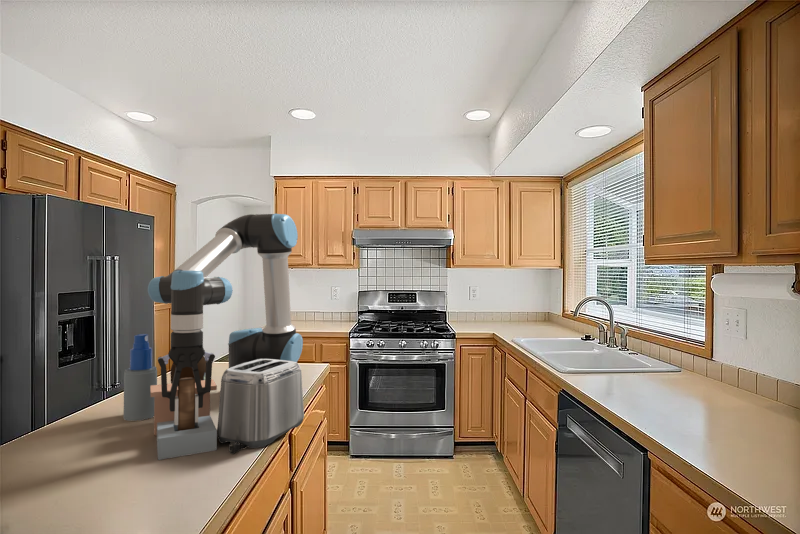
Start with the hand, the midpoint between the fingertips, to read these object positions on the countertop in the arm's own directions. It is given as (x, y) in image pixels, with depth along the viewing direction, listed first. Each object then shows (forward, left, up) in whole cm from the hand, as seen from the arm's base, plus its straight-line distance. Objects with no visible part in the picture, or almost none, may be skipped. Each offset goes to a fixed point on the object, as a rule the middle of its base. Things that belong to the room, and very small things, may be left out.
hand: (186, 421), depth 120 cm
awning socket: (0, -4, -6) cm, 7 cm away
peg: (0, 0, -4) cm, 4 cm away
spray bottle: (+10, -33, -6) cm, 35 cm away
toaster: (-18, 0, -6) cm, 20 cm away
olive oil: (-2, -20, -6) cm, 21 cm away
